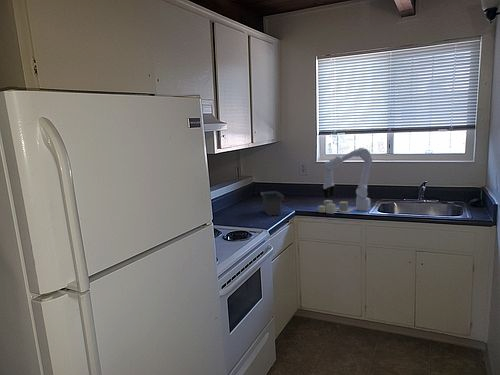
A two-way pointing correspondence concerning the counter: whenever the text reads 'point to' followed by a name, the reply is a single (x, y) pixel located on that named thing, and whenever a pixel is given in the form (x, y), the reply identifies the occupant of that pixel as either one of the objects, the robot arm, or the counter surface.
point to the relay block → (321, 208)
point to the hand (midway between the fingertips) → (329, 197)
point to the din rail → (342, 206)
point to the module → (330, 208)
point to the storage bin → (272, 202)
